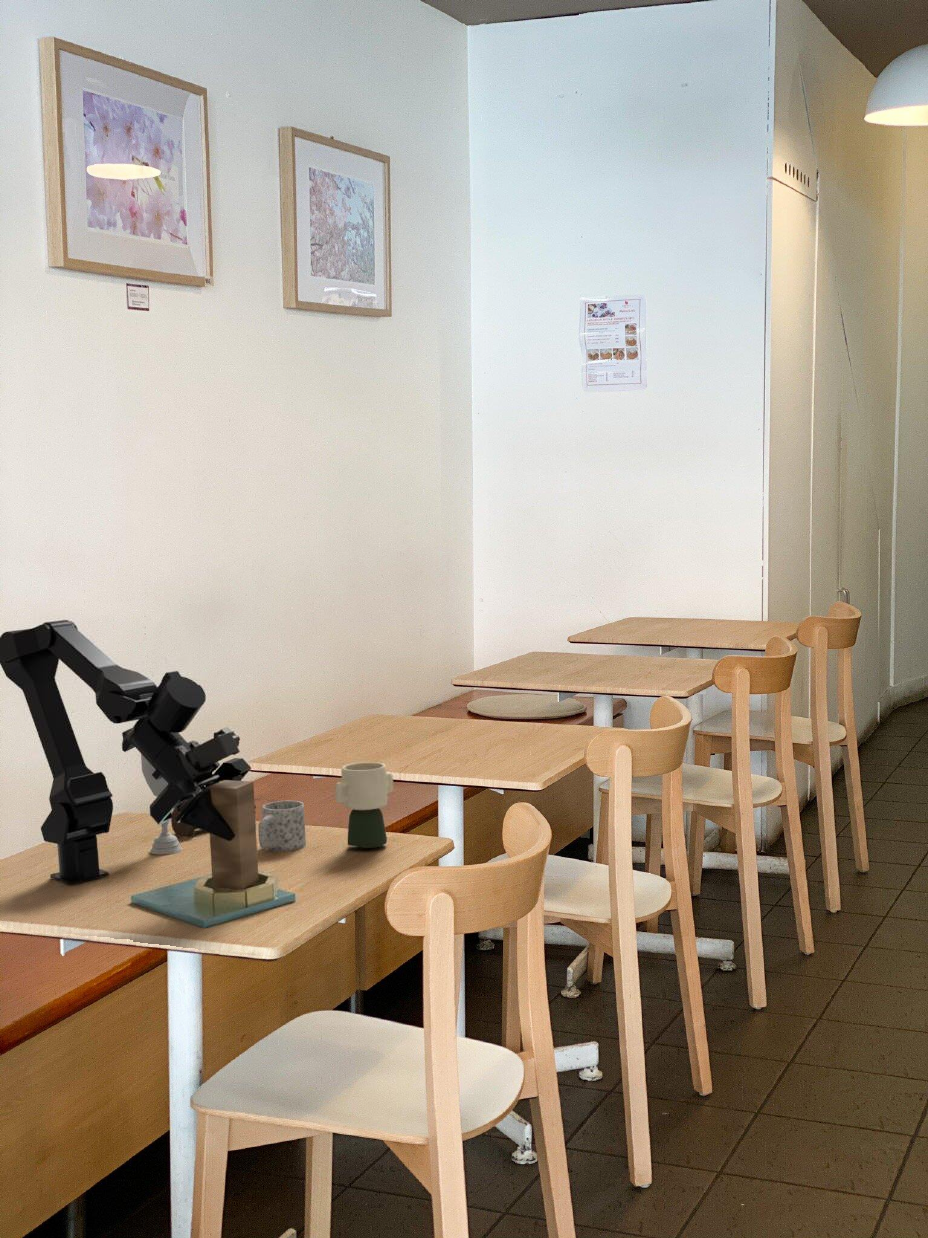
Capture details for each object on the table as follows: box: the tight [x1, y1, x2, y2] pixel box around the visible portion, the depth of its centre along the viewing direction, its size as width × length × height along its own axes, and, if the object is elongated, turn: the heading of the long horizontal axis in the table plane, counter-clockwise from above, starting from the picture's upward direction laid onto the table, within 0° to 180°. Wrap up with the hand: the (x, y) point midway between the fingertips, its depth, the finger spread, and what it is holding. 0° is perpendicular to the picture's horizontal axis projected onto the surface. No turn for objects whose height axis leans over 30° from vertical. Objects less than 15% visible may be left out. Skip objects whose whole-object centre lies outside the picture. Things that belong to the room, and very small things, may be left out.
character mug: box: [334, 761, 394, 850], centre depth 219 cm, size 11×7×13 cm, turn 130°
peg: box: [207, 780, 259, 890], centre depth 191 cm, size 5×5×14 cm
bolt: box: [170, 805, 257, 838], centre depth 237 cm, size 6×5×15 cm
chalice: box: [140, 753, 183, 856], centre depth 222 cm, size 7×7×18 cm
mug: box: [258, 800, 307, 852], centre depth 221 cm, size 10×7×7 cm
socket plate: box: [130, 869, 297, 929], centre depth 193 cm, size 18×15×3 cm
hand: (241, 834), depth 191 cm, fingers closed on peg, 5 cm apart
